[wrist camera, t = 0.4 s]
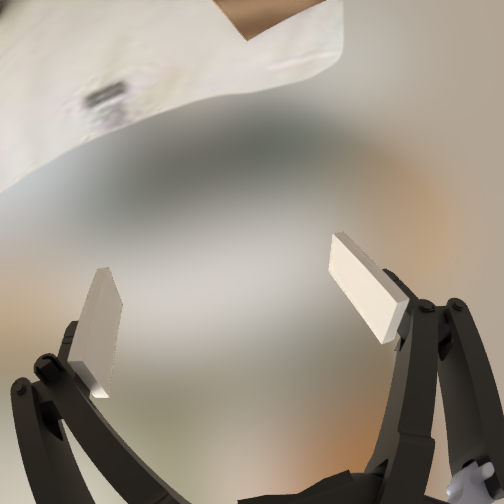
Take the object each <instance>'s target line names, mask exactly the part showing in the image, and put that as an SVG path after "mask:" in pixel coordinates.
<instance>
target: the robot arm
mask: <svg viewBox="0 0 504 504" xmlns="http://www.w3.org/2000/svg"><path fill="white" fill-rule="evenodd" d="M329 273H330V274H331V275H332V277H333V278H334V279H335V281H336V282H337V283H338V285H339V286H340V287H341V289H342V290H343V291H344V293H345V294H346V295H347V297H348V298H349V299H350V301H351V302H352V303H353V305H354V306H355V308H356V309H357V310H358V312H359V313H360V314H361V316H362V317H363V319H364V320H365V321H366V323H367V324H368V326H369V327H370V328H371V330H372V331H373V333H374V334H375V336H376V337H377V338H378V340H379V341H380V343H381V344H384V343H387V342H389V341H392V340H394V337H395V335H396V332H398V334H399V335H400V336H401V337H400V339H399V341H398V343H397V346H396V348H395V350H394V351H396V350H397V348H398V350H397V356H396V362H395V368H394V373H393V378H392V383H391V388H390V393H389V398H388V402H387V406H386V410H385V415H384V418H383V422H382V426H381V430H380V433H379V437H378V440H377V443H376V446H375V450H374V453H373V455H372V457H371V459H370V461H369V462H368V464H367V467H366V468H365V471H364V473H350V471H349V470H346V471H344V472H341V473H339V474H336V475H334V476H331V477H328V478H325V479H323V480H321V481H320V482H318V483H316V484H314V485H313V486H311V487H309V488H307V489H306V490H304V491H302V492H300V493H298V494H289V495H288V494H287V495H263V496H259V497H254V498H248V499H242V500H237V501H238V504H491V503H493V502H495V501H497V500H499V499H502V498H504V415H503V411H502V407H501V402H500V398H499V394H498V390H497V387H496V383H495V380H494V376H493V373H492V370H491V366H490V364H489V361H488V357H487V354H486V352H485V349H484V346H483V343H482V341H481V338H480V335H479V333H478V330H477V328H476V325H475V323H474V321H473V318H472V316H471V313H470V311H469V309H468V306H467V305H466V304H465V303H464V302H463V301H462V300H460V299H458V298H451V299H449V300H448V302H447V305H446V306H435V305H434V304H433V303H432V302H430V301H428V300H426V299H420V300H419V299H418V298H417V297H416V296H415V295H414V293H412V291H411V290H410V289H409V288H408V287H407V286H406V285H405V284H404V283H403V282H402V281H401V280H399V278H398V277H397V276H396V275H395V274H394V273H393V272H391V271H389V270H387V269H381V268H380V267H379V266H378V265H377V264H376V263H375V262H374V261H373V260H372V259H371V258H370V257H369V256H368V255H367V254H366V253H365V252H364V251H363V250H362V249H361V248H360V247H359V246H358V245H357V244H356V243H355V242H354V241H353V240H352V239H351V238H349V237H348V236H347V235H346V234H345V233H344V232H340V233H334V234H333V237H332V247H331V254H330V263H329ZM122 306H123V304H122V301H121V299H120V296H119V293H118V291H117V288H116V285H115V283H114V280H113V277H112V274H111V272H110V269H109V267H107V268H100V269H97V271H96V273H95V276H94V278H93V281H92V284H91V286H90V289H89V292H88V295H87V298H86V301H85V304H84V306H83V309H82V313H81V315H80V318H79V321H72V322H71V323H70V324H69V326H68V327H67V328H66V331H65V334H64V338H63V340H62V345H61V347H60V350H59V353H58V357H56V356H55V355H54V354H51V353H48V354H44V355H42V356H40V357H39V358H38V359H37V361H36V363H35V364H34V373H35V374H36V376H37V377H38V378H39V379H40V381H37V382H34V383H31V382H30V381H29V380H28V379H27V378H24V377H22V378H19V379H17V380H16V381H15V382H14V383H13V384H12V387H11V402H12V410H13V417H14V422H15V429H16V434H17V438H18V444H19V448H20V452H21V456H22V460H23V464H24V468H25V471H26V474H27V478H28V481H29V484H30V487H31V490H32V493H33V496H34V499H35V501H36V504H95V502H94V500H93V498H92V496H91V494H90V492H89V490H88V488H87V486H86V484H85V481H84V479H83V477H82V475H81V472H80V470H79V468H78V465H77V463H76V460H75V458H74V455H73V453H72V450H71V448H70V445H69V442H68V439H67V436H66V433H65V430H64V427H63V424H62V421H61V419H64V421H65V422H66V424H67V426H68V427H69V429H70V430H71V432H72V433H73V435H74V437H75V438H76V440H77V441H78V442H79V444H80V445H81V447H82V448H83V450H84V451H85V452H86V454H87V455H88V457H89V458H90V459H91V461H92V462H93V463H94V465H95V466H96V467H97V468H98V470H99V471H100V472H101V473H102V475H103V476H104V477H105V478H106V480H107V481H108V482H109V483H110V484H111V485H112V486H113V488H114V489H115V490H116V491H117V492H118V493H119V494H120V496H121V497H122V498H123V499H124V500H125V501H126V502H127V503H128V504H191V503H190V502H188V501H187V500H185V499H184V498H183V497H182V496H181V495H180V494H178V493H177V492H176V491H175V490H174V489H172V488H171V487H170V486H169V485H168V484H167V483H166V482H164V481H163V480H162V479H161V478H160V477H159V476H158V475H157V474H156V473H155V472H154V471H153V470H152V469H151V468H149V467H148V466H147V465H146V464H145V463H144V462H143V461H142V460H141V459H140V458H139V457H138V456H137V454H136V453H135V452H134V451H133V450H132V449H131V448H130V447H129V446H128V445H127V444H126V443H125V442H124V440H123V439H122V438H121V437H120V436H119V435H118V434H117V432H116V431H115V430H114V429H113V428H112V427H111V425H110V424H109V423H108V422H107V420H106V419H105V418H104V417H103V416H102V414H101V413H100V412H99V410H98V409H97V408H96V407H95V405H94V404H93V403H92V401H91V400H90V399H89V395H90V392H91V393H92V394H93V395H94V397H95V398H109V397H110V388H111V379H112V370H113V362H114V355H115V347H116V341H117V335H118V329H119V323H120V317H121V312H122ZM437 372H438V376H439V382H440V387H441V393H442V399H443V405H444V413H445V420H446V430H447V440H448V453H449V464H450V469H451V474H452V479H451V482H450V485H448V487H447V490H446V492H447V494H448V495H449V500H448V502H445V501H441V500H438V499H435V498H432V497H429V496H426V495H424V493H425V489H426V486H427V481H428V478H429V473H430V469H431V464H432V460H433V454H434V449H435V440H434V439H433V438H431V428H432V422H433V414H434V406H435V396H436V384H437Z"/></svg>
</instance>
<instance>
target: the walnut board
mask: <svg viewBox="0 0 504 504" xmlns="http://www.w3.org/2000/svg"><path fill="white" fill-rule="evenodd" d="M212 1H213V2H214V3H215V4H216V5H217V6H218V7H219V9H220V10H221V11H222V12H223V13H224V14H225V16H226V17H227V18H228V19H229V20H230V21H231V23H232V24H233V25H234V26H235V28H236V29H237V30H238V31H239V33H240V34H241V35H242V36H243V38H244V39H245V40H247V41H248V40H250V39H252V38H253V37H255V36H257V35H258V34H260V33H262V32H264V31H265V30H267V29H269V28H271V27H272V26H274V25H276V24H278V23H280V22H282V21H284V20H285V19H287V18H289V17H291V16H293V15H295V14H297V13H299V12H301V11H303V10H306V9H308V8H310V7H312V6H314V5H317V4H319V3H321V2H323V1H326V0H212Z"/></svg>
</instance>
